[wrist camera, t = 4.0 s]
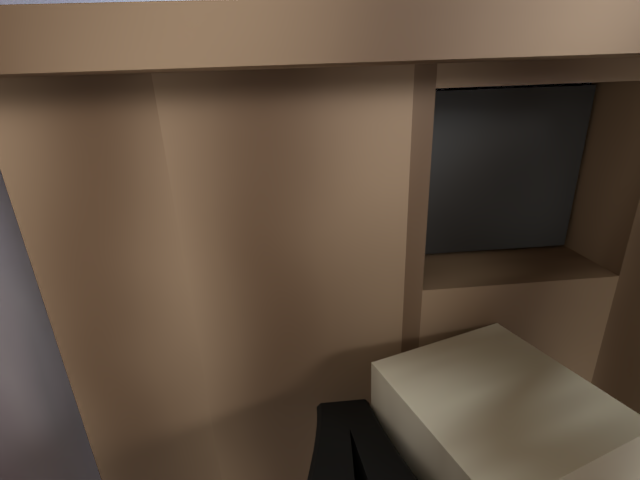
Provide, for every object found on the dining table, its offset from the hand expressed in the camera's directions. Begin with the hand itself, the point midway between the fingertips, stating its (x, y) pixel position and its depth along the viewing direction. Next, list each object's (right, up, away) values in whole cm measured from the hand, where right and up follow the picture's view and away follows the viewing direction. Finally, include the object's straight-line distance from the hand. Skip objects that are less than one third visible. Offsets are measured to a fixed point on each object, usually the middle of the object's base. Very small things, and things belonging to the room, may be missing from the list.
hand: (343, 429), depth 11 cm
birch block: (+3, +1, 0) cm, 3 cm away
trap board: (+2, +1, +3) cm, 4 cm away
